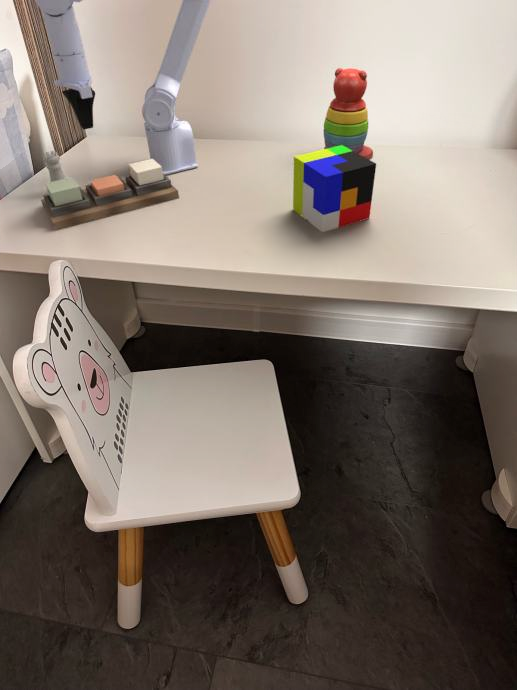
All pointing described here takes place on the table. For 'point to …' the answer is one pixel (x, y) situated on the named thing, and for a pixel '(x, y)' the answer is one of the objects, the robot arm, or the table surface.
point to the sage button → (64, 191)
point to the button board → (108, 202)
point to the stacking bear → (348, 113)
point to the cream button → (146, 171)
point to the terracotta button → (106, 185)
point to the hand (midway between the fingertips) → (87, 127)
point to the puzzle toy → (333, 187)
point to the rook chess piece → (53, 166)
